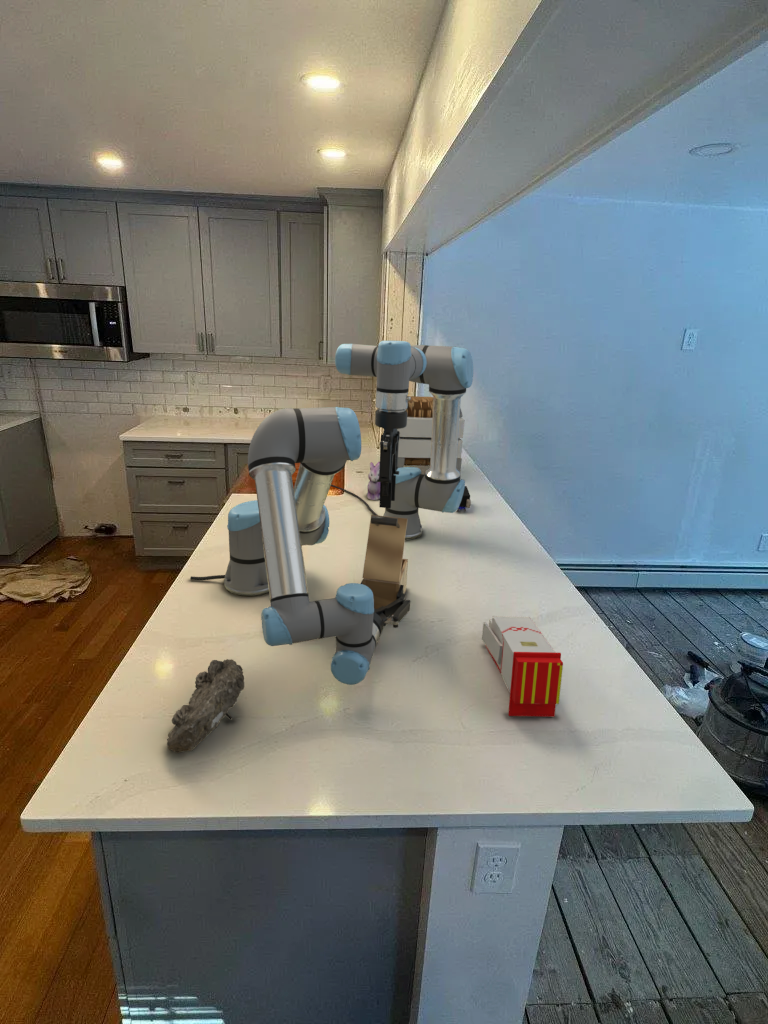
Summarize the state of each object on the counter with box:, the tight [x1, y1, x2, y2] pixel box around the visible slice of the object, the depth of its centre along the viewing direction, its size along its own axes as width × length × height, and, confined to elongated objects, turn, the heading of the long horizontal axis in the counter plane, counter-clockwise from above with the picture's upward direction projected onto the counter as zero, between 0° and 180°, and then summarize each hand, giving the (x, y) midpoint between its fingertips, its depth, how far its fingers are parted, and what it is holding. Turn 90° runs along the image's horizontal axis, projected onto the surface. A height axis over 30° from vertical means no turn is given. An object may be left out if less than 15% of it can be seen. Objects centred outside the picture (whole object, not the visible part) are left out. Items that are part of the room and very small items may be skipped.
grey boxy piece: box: [397, 395, 465, 475], centre depth 268 cm, size 34×33×41 cm
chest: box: [362, 558, 409, 617], centre depth 152 cm, size 16×10×9 cm, turn 169°
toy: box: [481, 615, 564, 718], centre depth 123 cm, size 12×13×30 cm
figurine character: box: [456, 485, 472, 513], centre depth 228 cm, size 7×8×15 cm
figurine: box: [366, 460, 380, 501], centre depth 235 cm, size 9×10×15 cm
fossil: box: [166, 658, 245, 754], centre depth 106 cm, size 22×10×15 cm
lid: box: [362, 514, 408, 583], centre depth 141 cm, size 16×10×8 cm
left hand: (382, 587), depth 148 cm, fingers closed on chest, 9 cm apart
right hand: (387, 503), depth 140 cm, fingers open, 5 cm apart
